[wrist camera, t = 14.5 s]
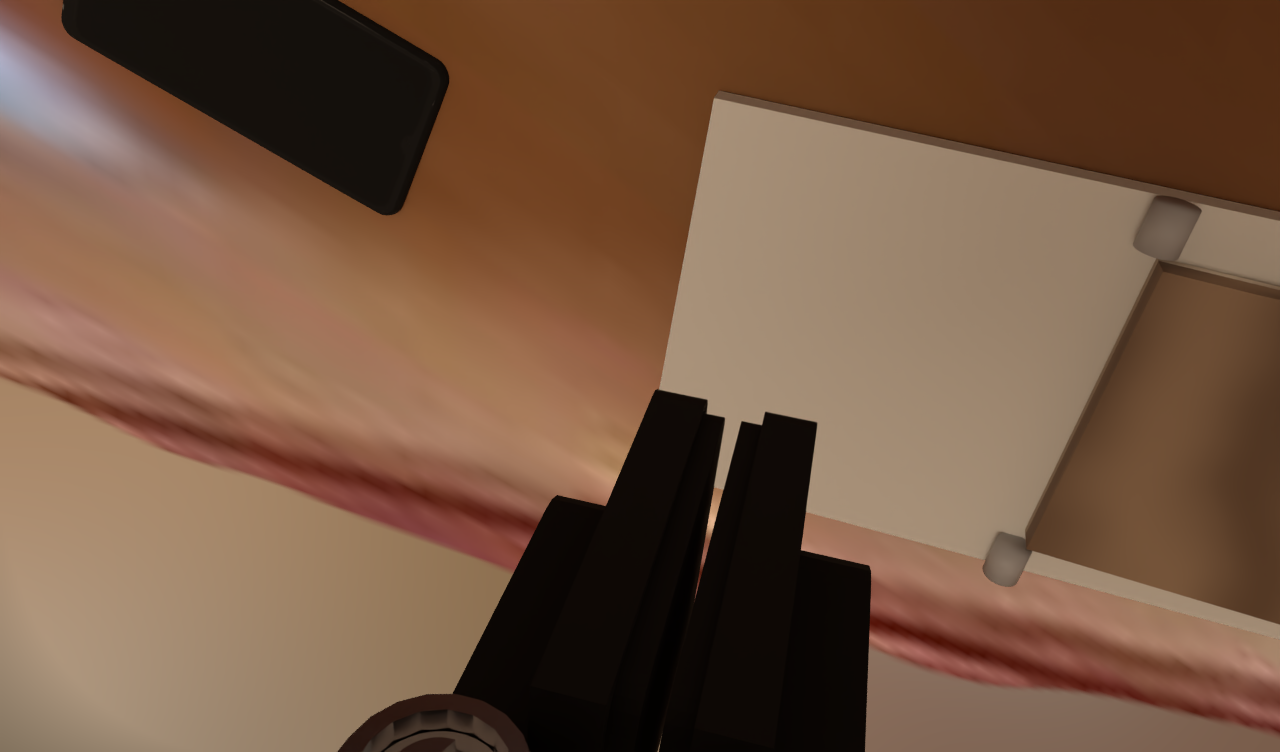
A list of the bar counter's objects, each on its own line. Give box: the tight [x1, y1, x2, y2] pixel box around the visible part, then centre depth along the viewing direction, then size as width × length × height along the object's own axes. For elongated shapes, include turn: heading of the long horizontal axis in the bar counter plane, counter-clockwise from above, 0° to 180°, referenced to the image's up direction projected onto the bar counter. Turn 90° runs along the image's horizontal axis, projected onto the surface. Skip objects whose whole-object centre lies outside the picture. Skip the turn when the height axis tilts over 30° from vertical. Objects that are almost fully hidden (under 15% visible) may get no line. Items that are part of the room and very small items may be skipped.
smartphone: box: [62, 0, 449, 215], centre depth 36 cm, size 7×1×15 cm
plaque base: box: [659, 91, 1280, 640], centre depth 35 cm, size 30×16×2 cm, turn 81°
